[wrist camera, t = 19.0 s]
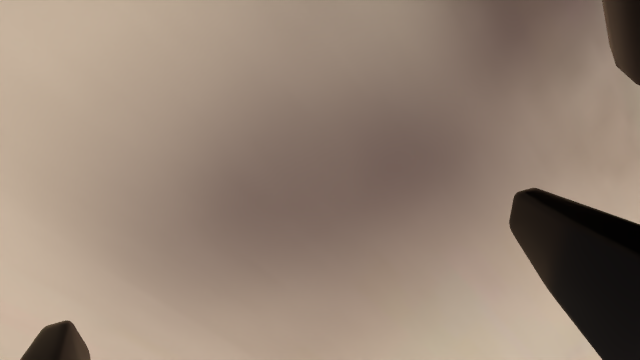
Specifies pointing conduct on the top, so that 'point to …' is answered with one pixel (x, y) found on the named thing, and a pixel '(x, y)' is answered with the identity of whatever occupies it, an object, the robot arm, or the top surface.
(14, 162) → the top surface
